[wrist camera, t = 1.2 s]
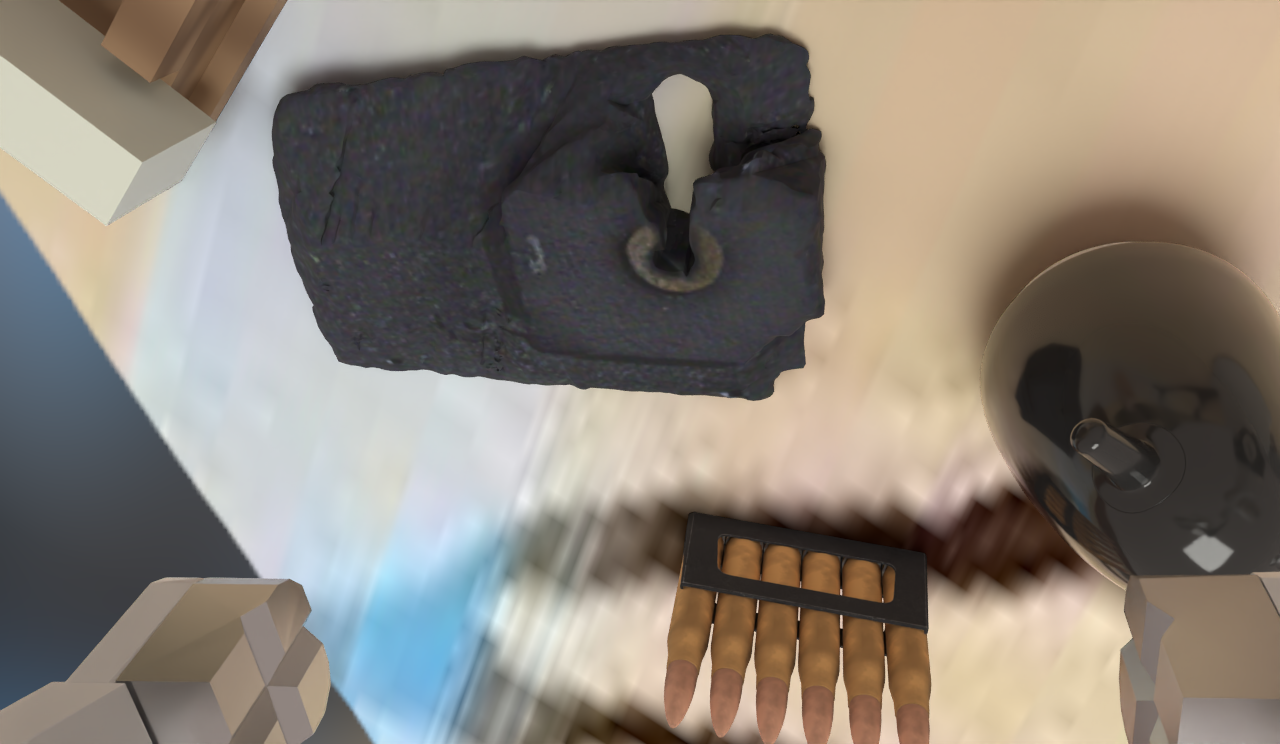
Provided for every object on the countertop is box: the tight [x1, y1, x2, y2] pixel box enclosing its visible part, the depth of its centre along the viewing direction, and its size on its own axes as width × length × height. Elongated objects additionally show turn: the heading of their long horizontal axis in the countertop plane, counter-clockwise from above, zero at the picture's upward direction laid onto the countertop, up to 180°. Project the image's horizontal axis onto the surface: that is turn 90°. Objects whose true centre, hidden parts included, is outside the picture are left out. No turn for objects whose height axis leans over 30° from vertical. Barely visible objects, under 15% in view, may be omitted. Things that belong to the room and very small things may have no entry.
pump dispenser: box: [980, 241, 1280, 590], centre depth 36 cm, size 10×10×15 cm
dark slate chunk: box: [272, 34, 826, 401], centre depth 43 cm, size 15×22×5 cm
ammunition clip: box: [664, 512, 931, 744], centre depth 45 cm, size 11×2×12 cm, turn 84°
